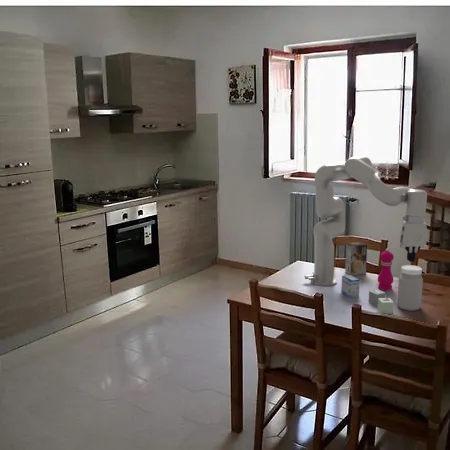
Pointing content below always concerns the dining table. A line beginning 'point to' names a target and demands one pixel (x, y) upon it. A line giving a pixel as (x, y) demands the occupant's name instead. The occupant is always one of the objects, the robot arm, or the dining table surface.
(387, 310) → the sage block
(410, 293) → the jar
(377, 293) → the slate block
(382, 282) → the pepper mill
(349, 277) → the medicine box
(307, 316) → the dining table surface
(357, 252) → the coffee box
